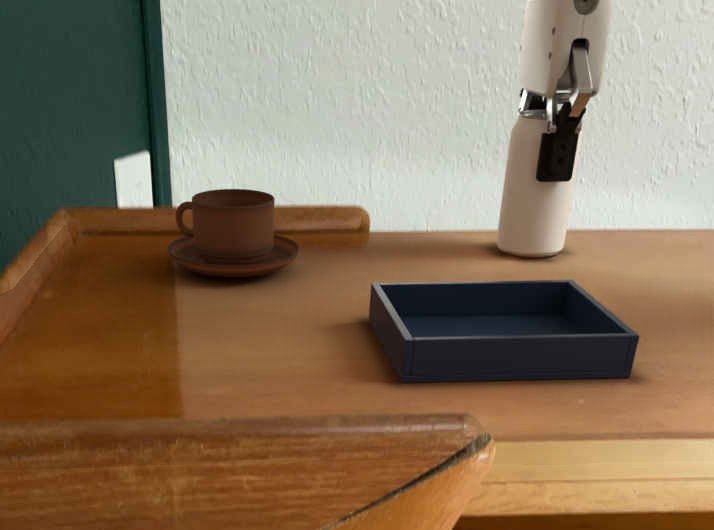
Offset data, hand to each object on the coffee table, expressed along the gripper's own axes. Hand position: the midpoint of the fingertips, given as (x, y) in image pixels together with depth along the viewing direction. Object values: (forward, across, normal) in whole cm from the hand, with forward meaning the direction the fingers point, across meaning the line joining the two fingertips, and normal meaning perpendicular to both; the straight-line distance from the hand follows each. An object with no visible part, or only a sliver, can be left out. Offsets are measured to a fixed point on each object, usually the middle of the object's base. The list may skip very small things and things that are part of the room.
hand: (540, 171), depth 90 cm
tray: (+7, -27, +11) cm, 30 cm away
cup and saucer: (+7, -5, +29) cm, 31 cm away
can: (+7, 0, 0) cm, 7 cm away
